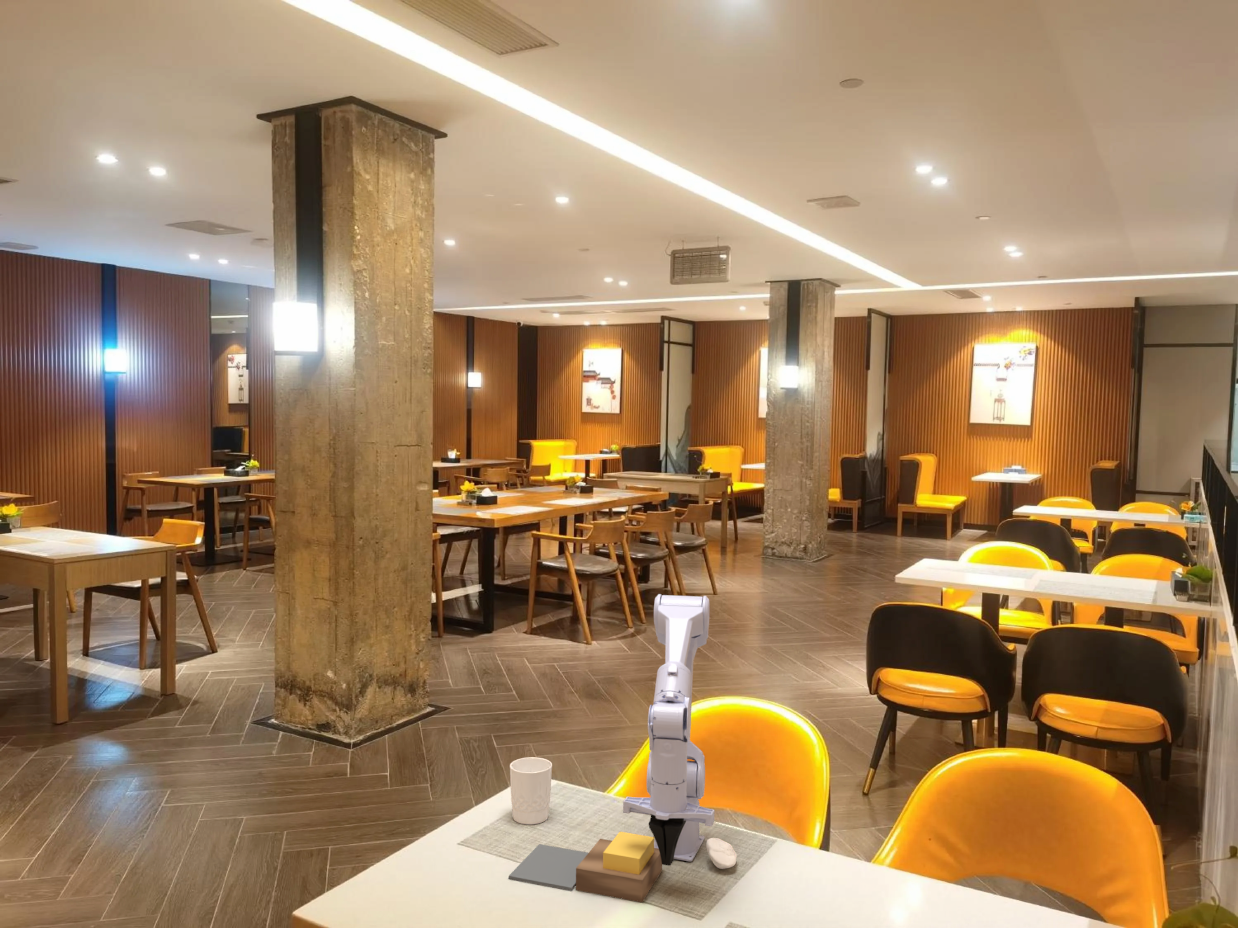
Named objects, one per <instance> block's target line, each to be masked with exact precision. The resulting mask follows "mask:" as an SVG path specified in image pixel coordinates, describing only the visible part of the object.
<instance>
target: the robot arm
mask: <svg viewBox="0 0 1238 928" xmlns="http://www.w3.org/2000/svg"><path fill="white" fill-rule="evenodd" d="M710 604H711V603H710V599H709V598H708V596H707V595H703V596H697V595H695V596H693V595H673V594H672V595H667V594H663V595H662V594H661V593H658V594H657V595H656V596H655V598H654V605H653V624H654V627H655V628H654V630H655V636H656V637H657V642H658V643H660V644H662V645H664V646H665V652H664V655H665V658H664V659H665V660H664V664H662V665H660V666H659V668H658V669H657V671H656V679H655V687H654V696H653V704H650V705H649V709H648V715H647V732H648V741H649V743H648V744H649V745H648V746H649V748H648V749H649V751H650V752H649V757H648V763H647V769H646V791H647V794H648V795H649V797H634V796H633V797H632V796H626V798H625V799H624V800H623V801H622V802H623V805H622V813H624V814H630V813H635V814H641V815H647V816H650V818H649V819H650V820H649V821H648V828H649V830H650V832H651V834H652V835H653V836H652V837H654V848H658V849H659V852H660V856H661V861H662V866H669V867H670V866H671V865H672V864H673V862H674V861H675V860H679V861H683V862H684V861H686V862H692V861H693V860H694V859H695V856H696V855H697V853H698V852H699V850H700V849H701V846H702V844H703V843H704V840H705V835H701V834H700V824H704V826H706V827H712V826H713V825H714V823H715V809H713V808H708V807H703V806H700V800H701V799H702V798H703V797H704V796H705V788H706V785H705V784H706V765H705V760H706V759H705V757H706V756H705V755H704V752H703V751H702V750H701V749H700V748H699V747H698V746H697V745H696V744H695V743H694V742H693V741H691V729H692V728H691V727H692V702H693V700H692V699H693V682H694V679H693V677H694V661H695V657H696V653H697V650H698V649H699V648H701V647H702V646H705V645H707V641H708V639H709V627H710V606H711V605H710Z"/></svg>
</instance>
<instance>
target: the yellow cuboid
mask: <svg viewBox="0 0 1238 928" xmlns="http://www.w3.org/2000/svg"><path fill="white" fill-rule="evenodd" d="M654 840H655V838H654V836H651V835H650V836H649V835H642V834H636V833H631V832H625V831H619V832H618V833H617V834H616V836H615V837H614V838H613V839H612V840H611V841H612V842H611V843H610V845H609V846H608V847H607V848H606V850H605V851H604V852H603V868H605V869H610V870H616V871H622V872H627V873H633V874H638V875H639V874H640V873H641V871H642V870H643V868H644V867H645V865H646V864H647V862H648V861H649V859H650V858H651V856H652V855H653V853H654Z"/></svg>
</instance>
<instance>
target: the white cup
mask: <svg viewBox="0 0 1238 928" xmlns="http://www.w3.org/2000/svg"><path fill="white" fill-rule="evenodd" d="M552 770H553V763H552V762H551V761H550V760H548V759H546V758H543V757H534V756H532V757H531V756H530V757H529V756H527V757H522V758H518V759H516V760H515V759H514V760H513V761H511V762H510V763H509V777H510V780H509V783H510V801H511V812H512V813H511V816H512V817H511V818H512V819H513V821H515V822H517V823H518V824H522V825H537V824H542V823H543V822H545V821H547V819H549V817H550V802H551V790H552V776H553V775H552Z"/></svg>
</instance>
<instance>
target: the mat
mask: <svg viewBox="0 0 1238 928" xmlns="http://www.w3.org/2000/svg"><path fill="white" fill-rule="evenodd" d="M588 853H589V852H587V851H582V850H581V851H580V850H575V849H571V848H564V847H559V846H553V845H546V844H541V843H539V844H538V845H536V847H535V848H533V850H532V851H531V852H530V853H529V854H528V855H527V856H526V857H525V858H524V859H523V860H522V861H521V862H520V863H519V865H518V866H517V867H516V868H515V869H513V870H512V872H511V873H510V874H509V875H508V880H513V881H518V882H523V883H528V884H534V885H538V886H544V887H548V888H549V887H550V888H554V889H559V890H564V891H570V892H572V891H573V890H574V889H575V888H576V868H577V866H578V865H579V864H580V863H581V862H582V860H583V859H584V858H585V857H586V855H587V854H588Z"/></svg>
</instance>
